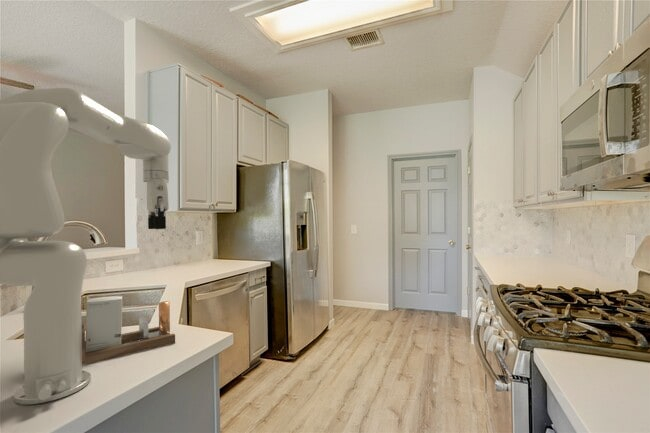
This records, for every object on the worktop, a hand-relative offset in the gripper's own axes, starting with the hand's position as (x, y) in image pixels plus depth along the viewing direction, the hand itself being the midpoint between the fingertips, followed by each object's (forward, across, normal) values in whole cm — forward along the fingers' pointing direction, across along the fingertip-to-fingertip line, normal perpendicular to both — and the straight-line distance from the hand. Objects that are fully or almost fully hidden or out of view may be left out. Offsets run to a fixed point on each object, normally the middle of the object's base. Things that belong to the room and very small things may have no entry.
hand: (156, 228), depth 108 cm
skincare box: (+34, -11, +16) cm, 39 cm away
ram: (+33, -11, +3) cm, 35 cm away
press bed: (+33, -11, +11) cm, 37 cm away
